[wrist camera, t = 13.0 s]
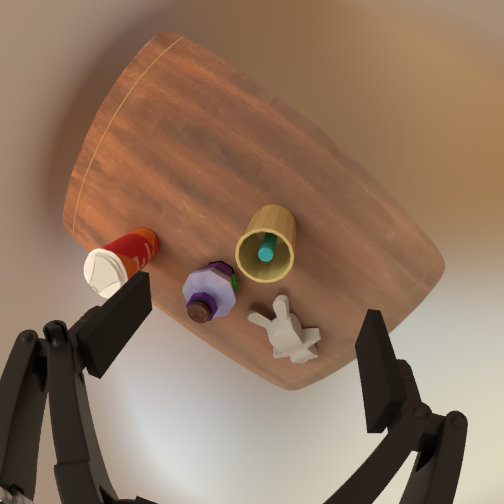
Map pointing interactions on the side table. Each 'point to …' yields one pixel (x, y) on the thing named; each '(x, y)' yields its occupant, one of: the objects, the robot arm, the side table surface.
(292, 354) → the bunny figurine
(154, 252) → the paper cup
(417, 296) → the side table surface
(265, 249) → the teal cylinder rod
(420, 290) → the side table surface
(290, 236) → the can
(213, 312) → the potion bottle
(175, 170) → the side table surface
